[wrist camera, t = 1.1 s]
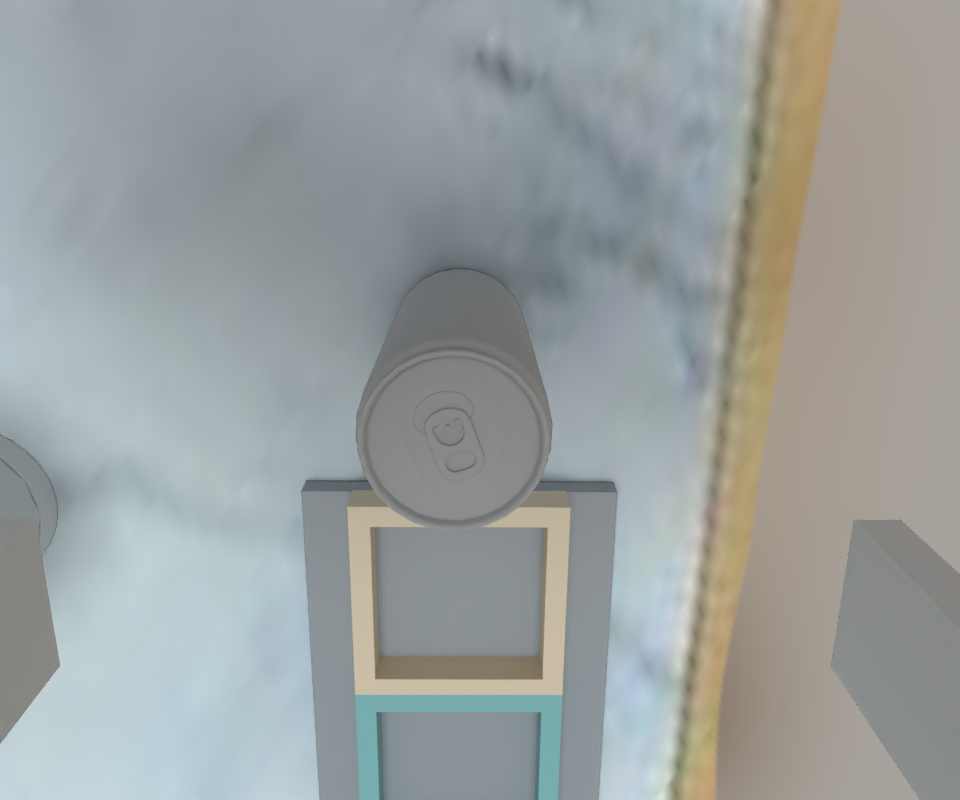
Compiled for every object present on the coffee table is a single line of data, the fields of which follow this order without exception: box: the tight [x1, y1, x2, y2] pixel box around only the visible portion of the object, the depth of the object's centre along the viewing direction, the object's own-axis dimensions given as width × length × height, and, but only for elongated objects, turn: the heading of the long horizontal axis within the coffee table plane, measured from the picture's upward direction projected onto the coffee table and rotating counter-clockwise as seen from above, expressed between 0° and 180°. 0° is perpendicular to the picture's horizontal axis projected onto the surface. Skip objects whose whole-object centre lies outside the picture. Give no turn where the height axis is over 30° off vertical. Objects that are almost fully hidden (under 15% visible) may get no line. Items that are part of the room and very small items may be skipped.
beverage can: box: [356, 269, 552, 531], centre depth 26 cm, size 5×5×12 cm
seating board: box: [301, 481, 617, 800], centre depth 34 cm, size 16×12×2 cm
